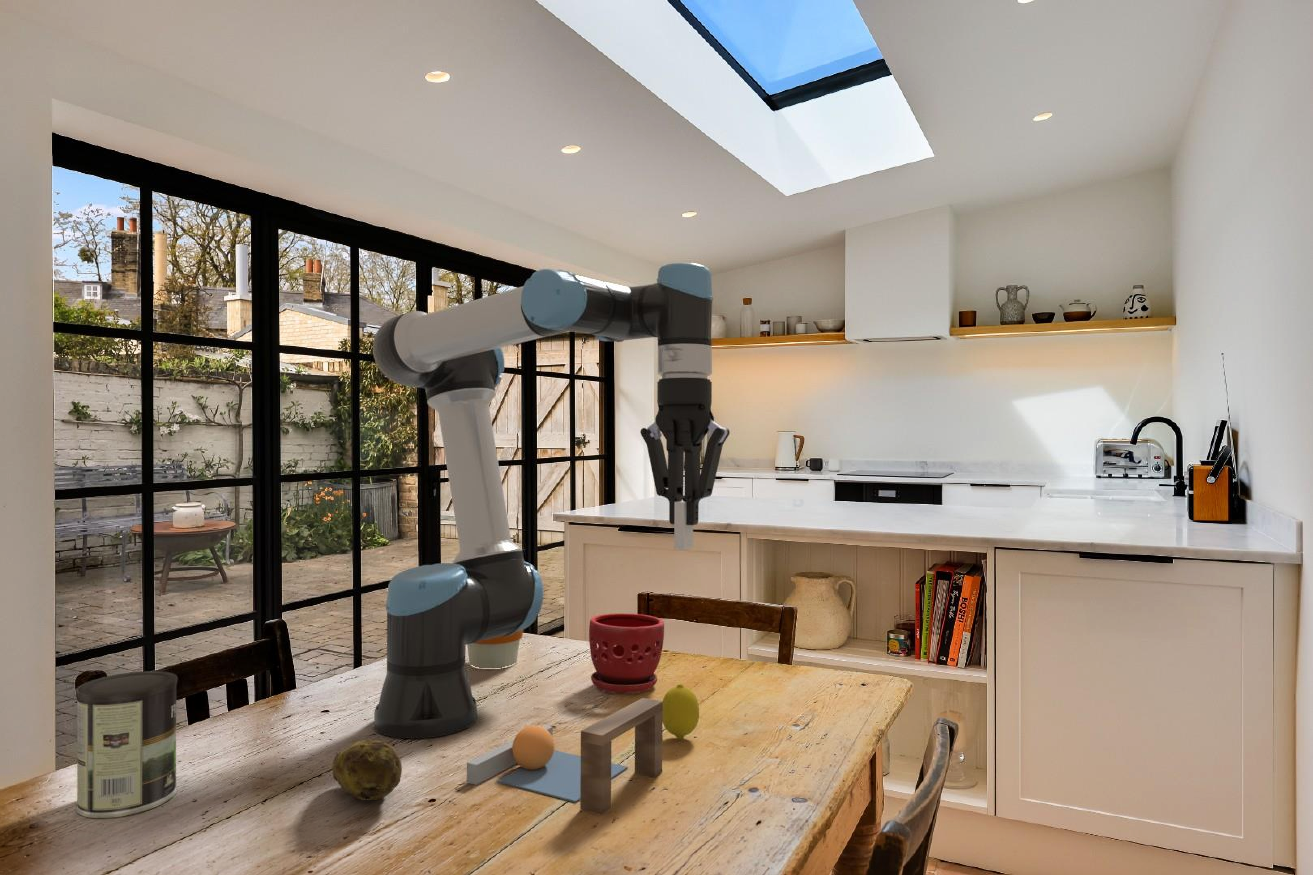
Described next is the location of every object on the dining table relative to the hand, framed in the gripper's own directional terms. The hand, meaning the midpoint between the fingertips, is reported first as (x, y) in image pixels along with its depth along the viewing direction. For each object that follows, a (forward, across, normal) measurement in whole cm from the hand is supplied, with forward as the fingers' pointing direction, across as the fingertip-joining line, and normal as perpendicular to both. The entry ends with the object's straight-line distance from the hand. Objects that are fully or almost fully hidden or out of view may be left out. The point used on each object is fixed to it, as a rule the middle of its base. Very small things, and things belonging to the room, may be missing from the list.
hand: (683, 548), depth 115 cm
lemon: (+29, -3, +5) cm, 29 cm away
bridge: (+28, -1, -14) cm, 32 cm away
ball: (+26, -15, -14) cm, 33 cm away
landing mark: (+28, -10, -14) cm, 33 cm away
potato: (+29, -26, -32) cm, 50 cm away
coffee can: (+29, -51, -46) cm, 74 cm away
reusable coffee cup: (+29, -53, +23) cm, 64 cm away
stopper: (+28, -18, -14) cm, 37 cm away
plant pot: (+29, -23, +23) cm, 43 cm away
